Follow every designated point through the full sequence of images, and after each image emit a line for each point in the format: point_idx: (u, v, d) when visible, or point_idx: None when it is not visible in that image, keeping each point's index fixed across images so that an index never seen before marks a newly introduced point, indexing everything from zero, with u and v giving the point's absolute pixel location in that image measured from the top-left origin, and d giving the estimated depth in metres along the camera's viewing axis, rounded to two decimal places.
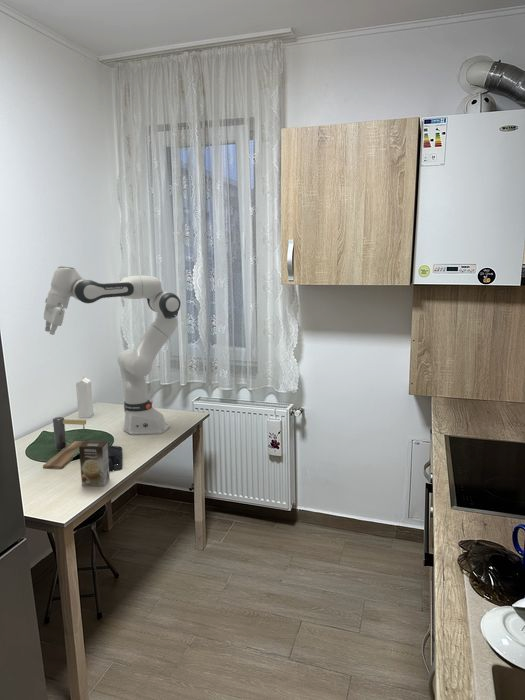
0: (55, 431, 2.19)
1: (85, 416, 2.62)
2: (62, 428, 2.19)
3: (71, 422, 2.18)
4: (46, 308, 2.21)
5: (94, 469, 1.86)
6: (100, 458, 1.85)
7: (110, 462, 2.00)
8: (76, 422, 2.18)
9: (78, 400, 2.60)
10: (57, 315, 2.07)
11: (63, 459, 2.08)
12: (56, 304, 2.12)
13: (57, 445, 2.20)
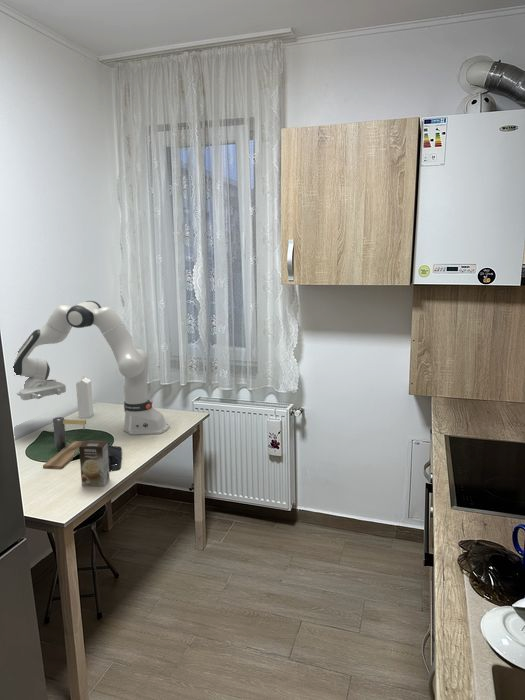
0: (55, 431, 2.19)
1: (85, 416, 2.62)
2: (62, 428, 2.19)
3: (71, 422, 2.18)
4: None
5: (94, 469, 1.86)
6: (100, 458, 1.85)
7: None
8: (76, 422, 2.18)
9: (78, 400, 2.60)
10: (20, 397, 2.30)
11: (63, 459, 2.08)
12: None
13: (57, 445, 2.20)
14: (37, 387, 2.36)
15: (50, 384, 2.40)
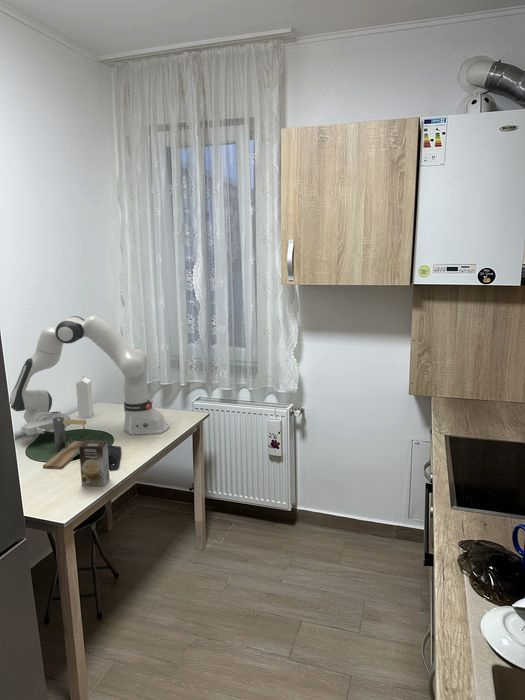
0: (55, 431, 2.19)
1: (85, 416, 2.62)
2: (62, 428, 2.19)
3: (71, 422, 2.18)
4: None
5: (94, 469, 1.86)
6: (100, 458, 1.85)
7: None
8: (76, 422, 2.18)
9: (78, 400, 2.60)
10: (25, 431, 2.25)
11: (63, 459, 2.08)
12: None
13: (57, 445, 2.20)
14: (42, 420, 2.31)
15: (55, 417, 2.36)
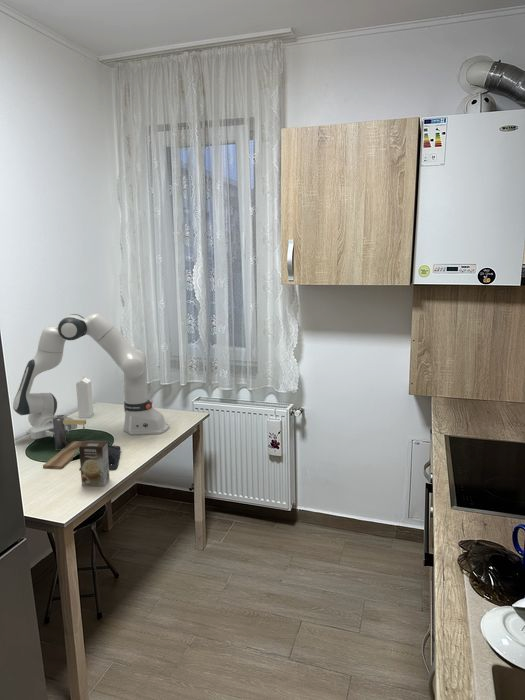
0: (55, 431, 2.19)
1: (85, 416, 2.62)
2: (62, 428, 2.19)
3: (71, 422, 2.18)
4: None
5: (94, 469, 1.86)
6: (100, 458, 1.85)
7: None
8: (76, 422, 2.18)
9: (78, 400, 2.60)
10: (30, 435, 2.20)
11: (63, 459, 2.08)
12: None
13: (57, 445, 2.20)
14: (47, 424, 2.26)
15: None
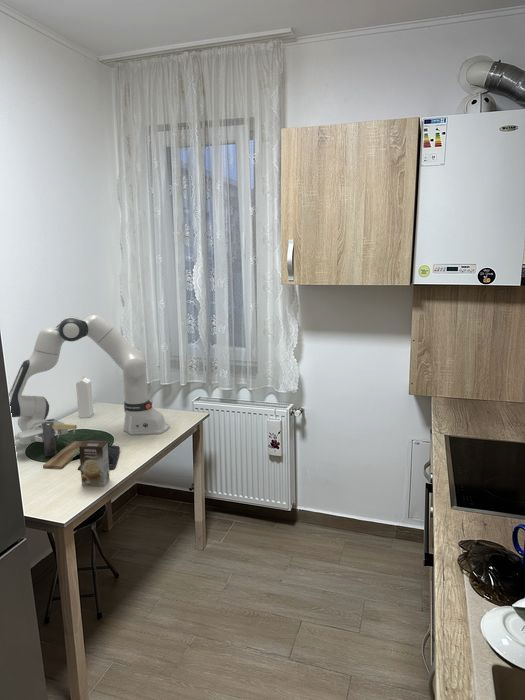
0: (44, 436, 2.10)
1: (85, 416, 2.62)
2: (52, 433, 2.11)
3: (61, 427, 2.10)
4: None
5: (94, 469, 1.86)
6: (100, 458, 1.85)
7: None
8: (66, 427, 2.10)
9: (78, 400, 2.60)
10: (19, 440, 2.12)
11: (63, 459, 2.08)
12: None
13: (46, 451, 2.11)
14: (37, 429, 2.18)
15: None
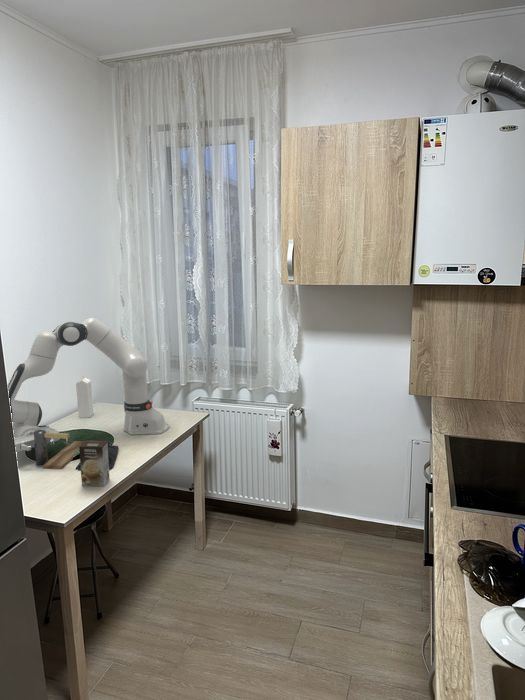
0: (36, 445, 2.03)
1: (85, 416, 2.62)
2: (43, 442, 2.04)
3: (53, 436, 2.03)
4: None
5: (94, 469, 1.86)
6: (100, 458, 1.85)
7: None
8: (59, 436, 2.03)
9: (78, 400, 2.60)
10: None
11: (63, 459, 2.08)
12: None
13: (38, 460, 2.04)
14: (28, 435, 2.10)
15: None
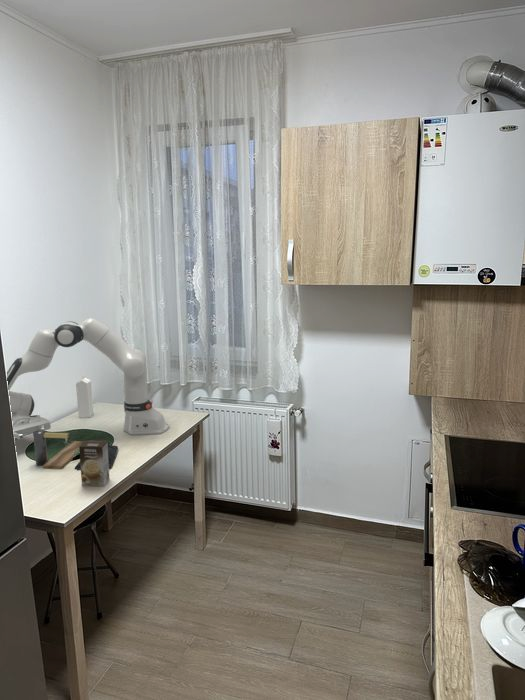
0: (35, 445, 2.03)
1: (85, 416, 2.62)
2: (43, 442, 2.04)
3: (53, 435, 2.03)
4: None
5: (94, 469, 1.86)
6: (100, 458, 1.85)
7: None
8: (58, 435, 2.03)
9: (78, 400, 2.60)
10: None
11: (63, 459, 2.08)
12: None
13: (38, 460, 2.04)
14: (19, 425, 2.20)
15: (33, 421, 2.25)
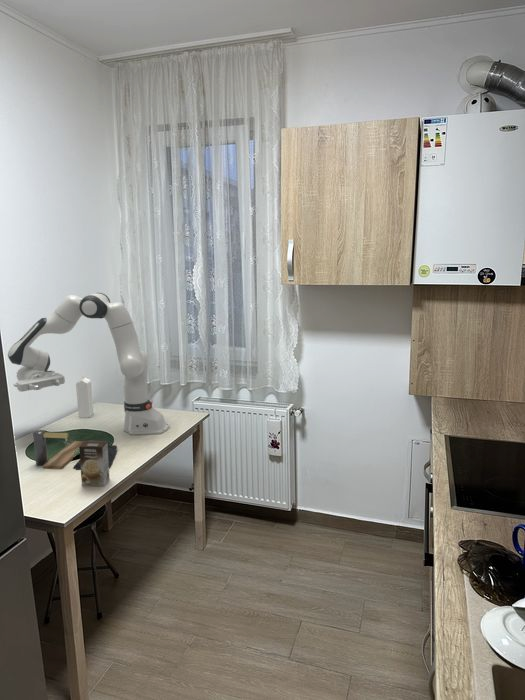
0: (35, 445, 2.03)
1: (85, 416, 2.62)
2: (43, 442, 2.04)
3: (52, 435, 2.03)
4: None
5: (94, 469, 1.86)
6: (100, 458, 1.85)
7: None
8: (58, 435, 2.03)
9: (78, 400, 2.60)
10: (17, 388, 2.20)
11: (63, 459, 2.08)
12: None
13: (38, 460, 2.04)
14: (35, 378, 2.26)
15: (48, 375, 2.31)
